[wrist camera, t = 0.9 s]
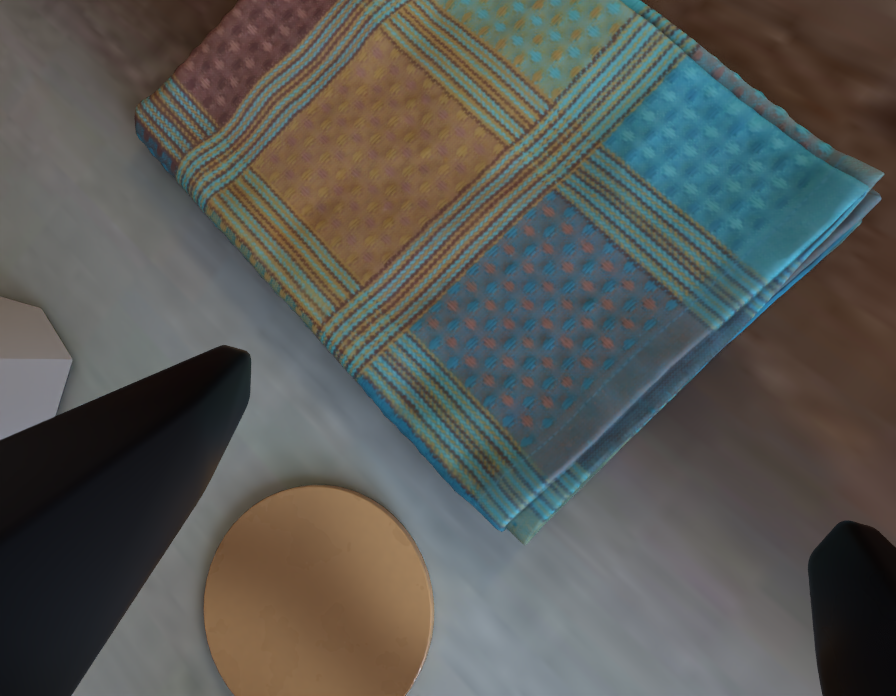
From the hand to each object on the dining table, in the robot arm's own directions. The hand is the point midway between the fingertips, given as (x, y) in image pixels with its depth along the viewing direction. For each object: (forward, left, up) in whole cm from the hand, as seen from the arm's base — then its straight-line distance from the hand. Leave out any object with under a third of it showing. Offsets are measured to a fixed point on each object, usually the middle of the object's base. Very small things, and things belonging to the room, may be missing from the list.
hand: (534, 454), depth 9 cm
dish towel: (+8, +6, -14) cm, 18 cm away
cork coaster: (-9, +6, -14) cm, 18 cm away
